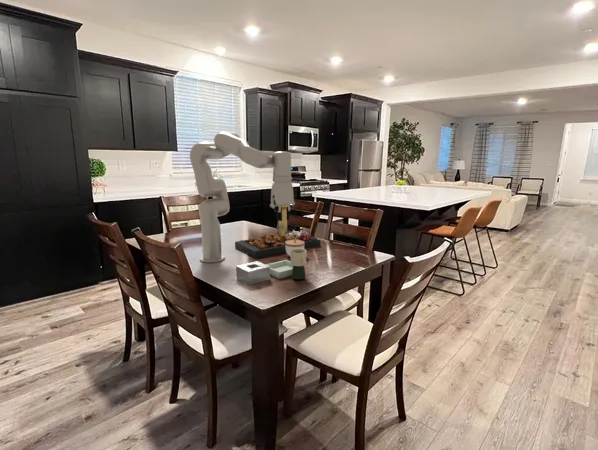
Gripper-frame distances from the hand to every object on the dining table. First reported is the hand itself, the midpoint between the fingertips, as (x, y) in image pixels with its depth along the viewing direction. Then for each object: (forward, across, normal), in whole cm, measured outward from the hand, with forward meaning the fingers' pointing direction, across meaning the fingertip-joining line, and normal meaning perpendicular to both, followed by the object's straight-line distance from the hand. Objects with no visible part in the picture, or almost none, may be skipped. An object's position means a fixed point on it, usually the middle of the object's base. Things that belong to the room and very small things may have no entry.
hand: (282, 219), depth 158 cm
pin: (+7, 0, 0) cm, 7 cm away
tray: (+25, 0, 0) cm, 25 cm away
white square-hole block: (+25, +16, -1) cm, 30 cm away
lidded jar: (+25, -21, -17) cm, 37 cm away
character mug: (+25, 0, +11) cm, 28 cm away
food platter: (+26, -25, -37) cm, 52 cm away
